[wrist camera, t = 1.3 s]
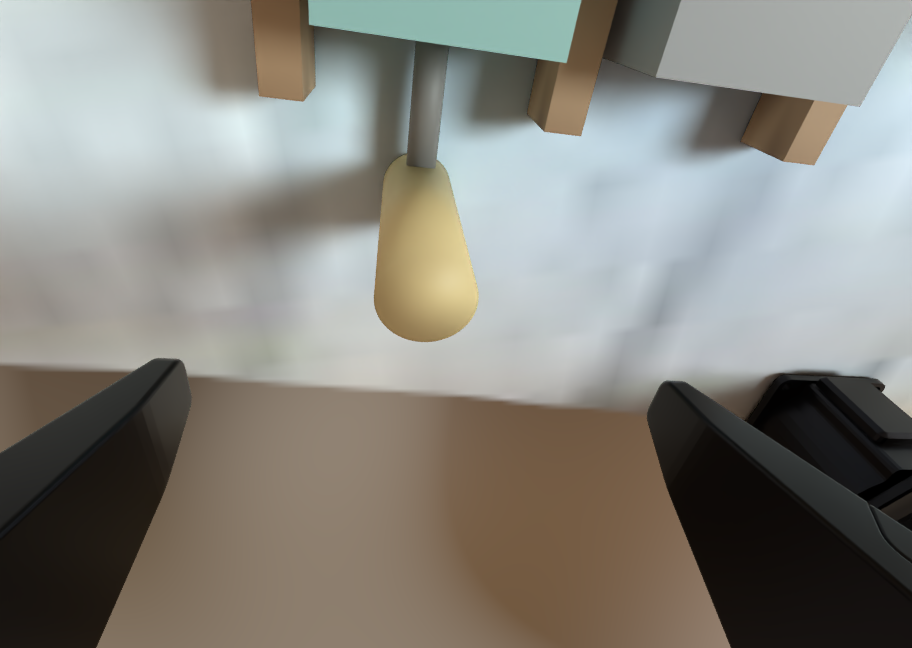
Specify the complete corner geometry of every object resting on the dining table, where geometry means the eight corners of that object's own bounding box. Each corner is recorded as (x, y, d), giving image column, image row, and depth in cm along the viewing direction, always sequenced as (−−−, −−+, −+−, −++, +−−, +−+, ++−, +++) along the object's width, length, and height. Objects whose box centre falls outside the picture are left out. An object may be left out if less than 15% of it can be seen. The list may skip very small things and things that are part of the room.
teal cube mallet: (489, 224, 19) (534, 347, 13) (334, 210, 18) (299, 335, 12) (573, -225, 12) (767, -462, 6) (332, -286, 11) (242, -649, 5)
